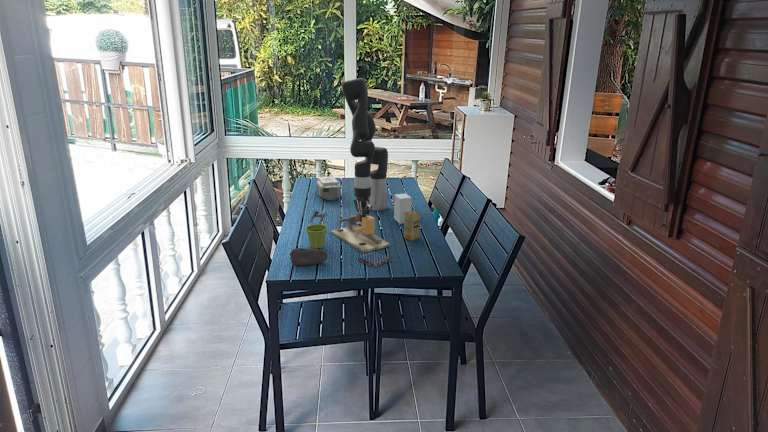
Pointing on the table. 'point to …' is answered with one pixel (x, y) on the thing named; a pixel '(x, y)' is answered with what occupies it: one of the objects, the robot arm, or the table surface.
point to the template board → (359, 236)
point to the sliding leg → (366, 226)
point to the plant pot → (316, 235)
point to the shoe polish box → (411, 225)
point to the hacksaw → (317, 215)
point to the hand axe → (358, 220)
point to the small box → (401, 206)
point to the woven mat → (374, 259)
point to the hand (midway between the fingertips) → (362, 222)
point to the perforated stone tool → (307, 256)
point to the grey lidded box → (328, 188)
